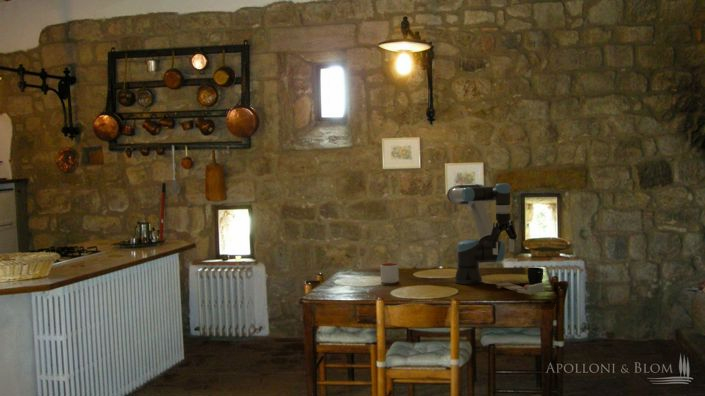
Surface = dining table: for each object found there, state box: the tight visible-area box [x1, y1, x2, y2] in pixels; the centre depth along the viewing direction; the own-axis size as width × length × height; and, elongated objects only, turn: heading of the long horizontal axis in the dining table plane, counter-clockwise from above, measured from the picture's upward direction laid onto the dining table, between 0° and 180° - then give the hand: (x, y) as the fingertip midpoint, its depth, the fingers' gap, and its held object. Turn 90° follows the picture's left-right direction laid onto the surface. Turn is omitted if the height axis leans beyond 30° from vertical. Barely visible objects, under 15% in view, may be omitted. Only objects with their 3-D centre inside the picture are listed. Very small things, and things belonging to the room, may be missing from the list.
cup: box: [379, 262, 399, 284], centre depth 381 cm, size 10×10×10 cm
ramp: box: [495, 280, 524, 292], centre depth 354 cm, size 15×7×3 cm, turn 40°
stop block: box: [516, 282, 544, 295], centre depth 345 cm, size 8×11×4 cm
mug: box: [526, 266, 544, 285], centre depth 356 cm, size 8×12×10 cm
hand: (503, 253), depth 356 cm, fingers open, 13 cm apart
